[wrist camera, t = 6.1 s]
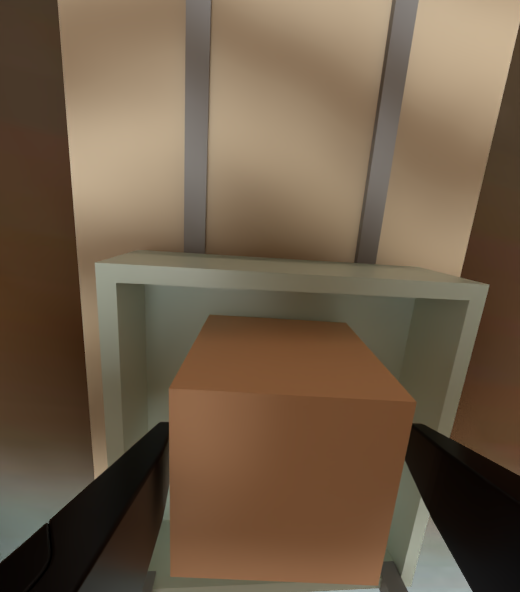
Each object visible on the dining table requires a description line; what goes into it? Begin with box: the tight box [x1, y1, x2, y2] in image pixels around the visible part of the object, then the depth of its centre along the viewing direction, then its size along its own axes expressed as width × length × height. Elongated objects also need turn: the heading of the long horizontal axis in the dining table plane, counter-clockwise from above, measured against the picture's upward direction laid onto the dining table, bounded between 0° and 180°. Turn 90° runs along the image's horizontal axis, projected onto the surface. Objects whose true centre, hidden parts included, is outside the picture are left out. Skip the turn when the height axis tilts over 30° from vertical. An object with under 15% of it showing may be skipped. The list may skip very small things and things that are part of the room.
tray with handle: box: [95, 250, 489, 592], centre depth 9 cm, size 12×11×9 cm
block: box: [169, 315, 417, 586], centre depth 9 cm, size 5×5×5 cm
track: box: [58, 0, 520, 479], centre depth 11 cm, size 27×16×4 cm, turn 176°
